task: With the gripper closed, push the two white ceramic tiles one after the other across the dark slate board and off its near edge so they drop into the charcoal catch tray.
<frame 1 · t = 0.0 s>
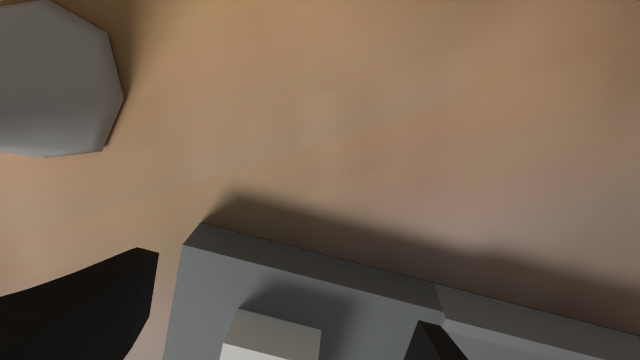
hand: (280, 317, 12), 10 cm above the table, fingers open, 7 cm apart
tile b: (270, 353, 22), point 2 cm above the table, touching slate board
flask: (52, 81, 21), on the table
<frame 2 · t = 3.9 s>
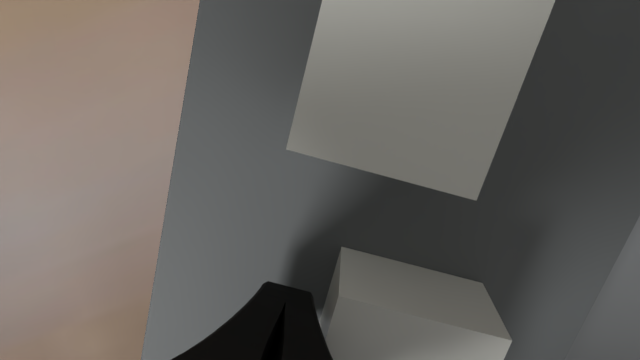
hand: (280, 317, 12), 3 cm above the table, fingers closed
tile b: (399, 68, 11), point 2 cm above the table, touching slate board
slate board: (388, 180, 15), on the table
tile a: (390, 324, 13), point 3 cm above the table, touching gripper
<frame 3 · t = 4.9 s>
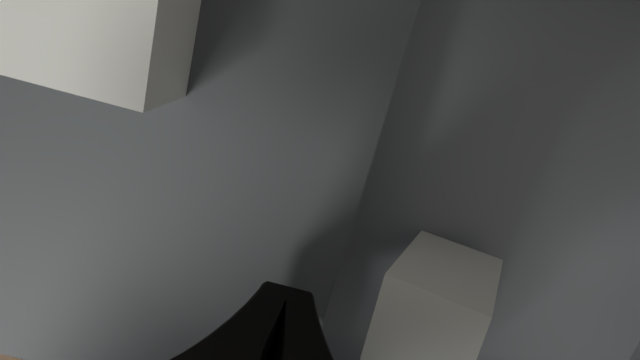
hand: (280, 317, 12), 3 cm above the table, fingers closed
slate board: (174, 124, 14), on the table
catch tray: (525, 218, 15), on the table
tile a: (387, 311, 13), point 2 cm above the table, tilted 68°, touching catch tray
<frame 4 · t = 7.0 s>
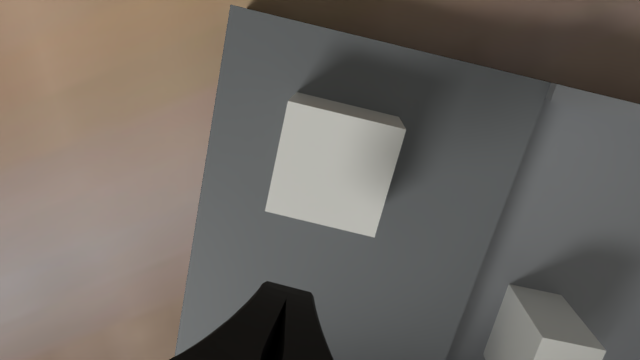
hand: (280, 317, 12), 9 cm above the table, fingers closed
tile b: (335, 154, 18), point 2 cm above the table, touching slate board
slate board: (340, 216, 22), on the table
catch tray: (578, 273, 22), on the table
tile a: (509, 346, 20), point 2 cm above the table, tilted 90°, touching catch tray
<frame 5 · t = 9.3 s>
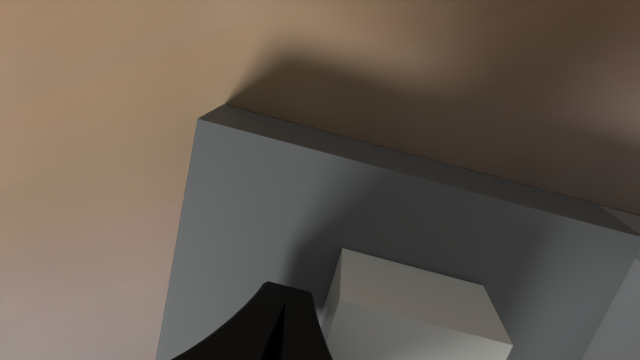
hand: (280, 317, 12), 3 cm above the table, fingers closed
tile b: (390, 326, 13), point 3 cm above the table, touching gripper
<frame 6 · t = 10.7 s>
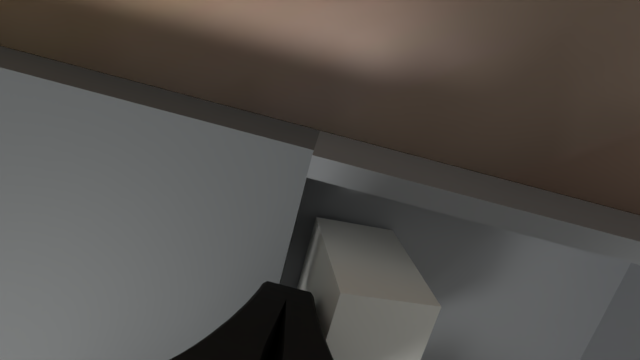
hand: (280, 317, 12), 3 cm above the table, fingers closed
tile b: (308, 312, 13), point 3 cm above the table, tilted 102°, touching catch tray, gripper
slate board: (104, 299, 17), on the table
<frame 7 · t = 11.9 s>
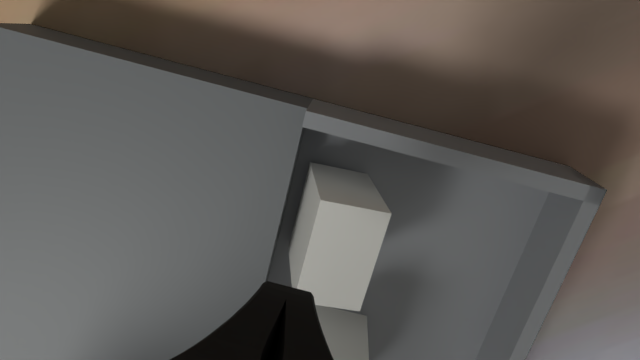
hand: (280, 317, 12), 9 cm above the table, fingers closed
tile b: (302, 226, 18), point 3 cm above the table, tilted 101°, touching catch tray
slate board: (147, 232, 21), on the table
catch tray: (385, 294, 22), on the table
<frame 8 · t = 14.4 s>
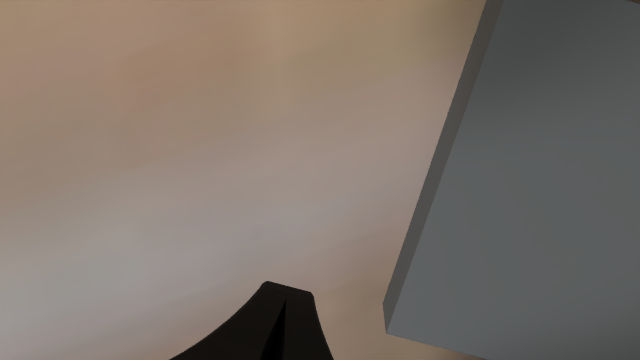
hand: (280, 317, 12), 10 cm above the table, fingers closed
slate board: (556, 192, 21), on the table
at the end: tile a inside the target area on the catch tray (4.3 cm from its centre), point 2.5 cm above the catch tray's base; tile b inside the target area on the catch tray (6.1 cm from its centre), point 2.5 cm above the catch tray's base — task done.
